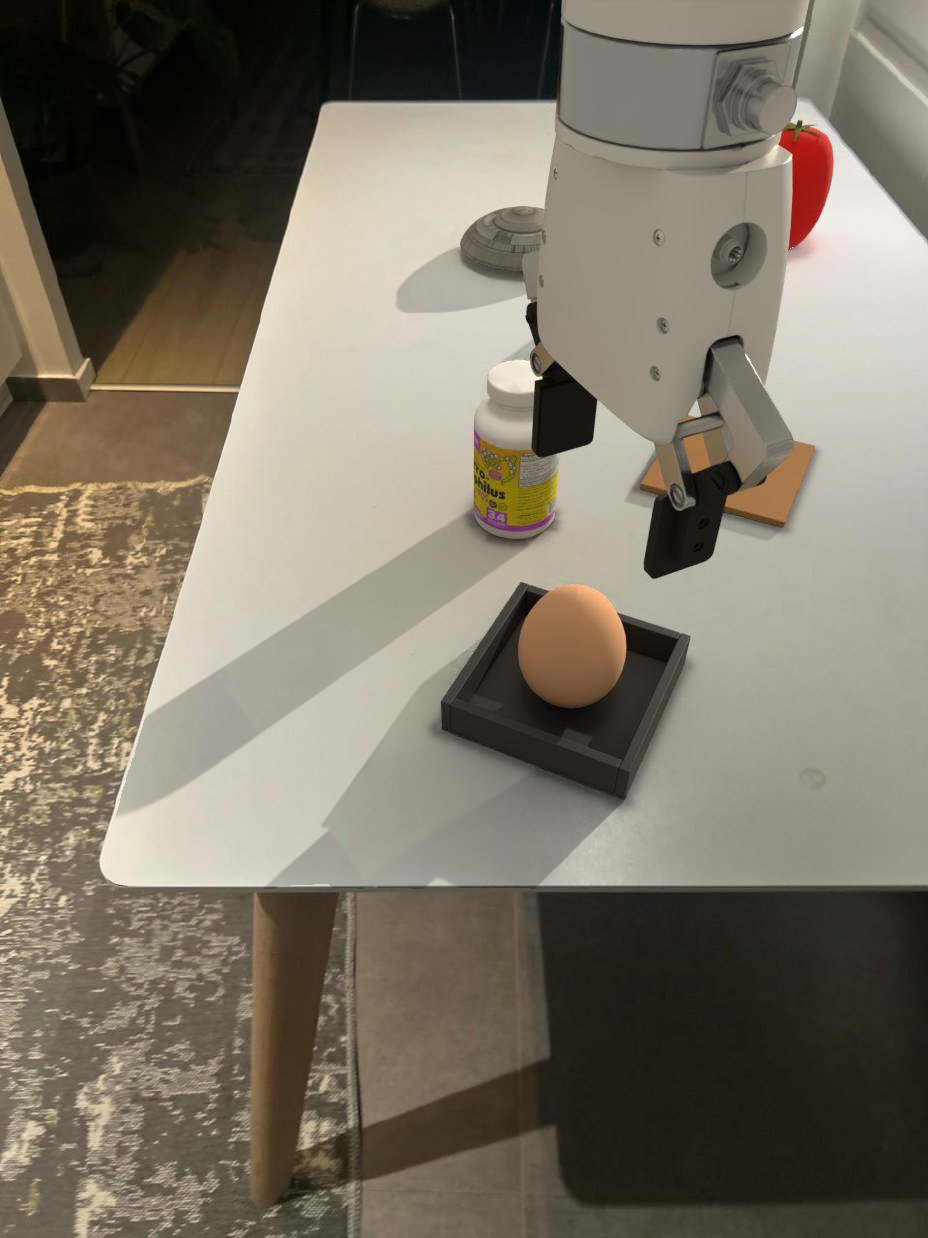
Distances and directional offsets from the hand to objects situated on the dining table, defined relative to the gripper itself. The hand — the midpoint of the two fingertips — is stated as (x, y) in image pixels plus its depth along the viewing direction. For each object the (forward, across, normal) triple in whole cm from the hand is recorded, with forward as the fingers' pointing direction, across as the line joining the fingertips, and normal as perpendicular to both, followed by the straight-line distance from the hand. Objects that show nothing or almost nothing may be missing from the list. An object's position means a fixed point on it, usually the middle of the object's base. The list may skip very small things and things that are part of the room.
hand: (615, 502), depth 42 cm
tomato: (+21, +58, -61) cm, 87 cm away
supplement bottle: (+21, +24, -8) cm, 33 cm away
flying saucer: (+21, +69, -33) cm, 79 cm away
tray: (+21, +6, -2) cm, 22 cm away
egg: (+21, +6, -2) cm, 22 cm away
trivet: (+21, +22, -28) cm, 41 cm away
